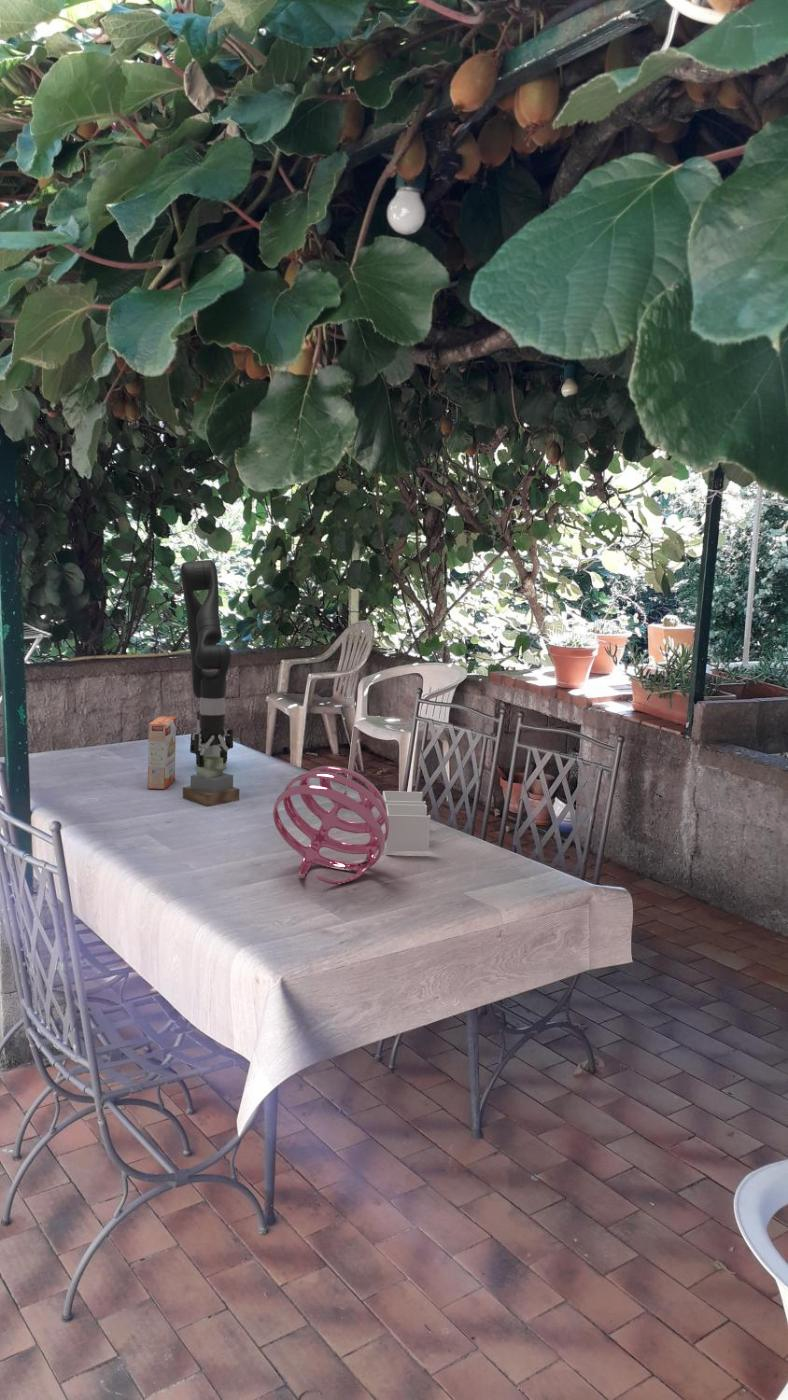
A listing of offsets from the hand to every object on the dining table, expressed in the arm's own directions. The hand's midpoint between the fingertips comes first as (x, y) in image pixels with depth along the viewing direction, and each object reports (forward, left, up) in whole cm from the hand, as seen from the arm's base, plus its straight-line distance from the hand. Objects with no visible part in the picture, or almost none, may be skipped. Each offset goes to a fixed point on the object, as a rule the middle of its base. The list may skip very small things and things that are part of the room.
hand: (211, 765), depth 312 cm
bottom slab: (0, 0, -11) cm, 11 cm away
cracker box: (+1, -24, -11) cm, 26 cm away
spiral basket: (+20, +74, -11) cm, 77 cm away
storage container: (-13, +67, -11) cm, 69 cm away
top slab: (0, 0, -7) cm, 7 cm away
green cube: (+1, 0, -3) cm, 3 cm away
